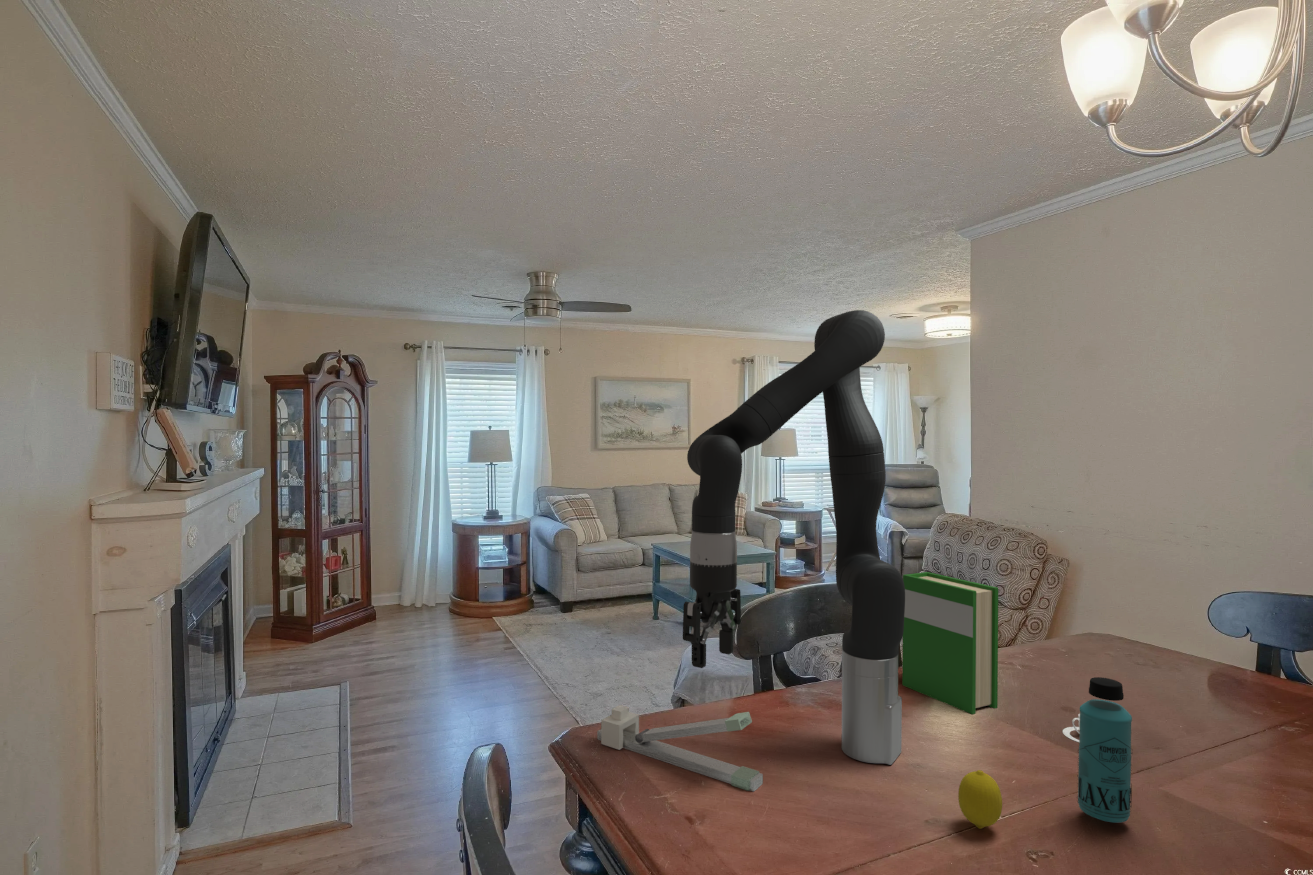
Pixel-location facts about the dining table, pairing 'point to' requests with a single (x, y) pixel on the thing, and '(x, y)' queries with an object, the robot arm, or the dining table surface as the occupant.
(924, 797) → the dining table surface
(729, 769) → the base
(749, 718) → the bar
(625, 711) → the lock slider
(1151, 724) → the dining table surface
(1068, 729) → the teacup and saucer
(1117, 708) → the beverage bottle
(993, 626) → the hardback book
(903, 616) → the robot arm
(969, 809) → the lemon
